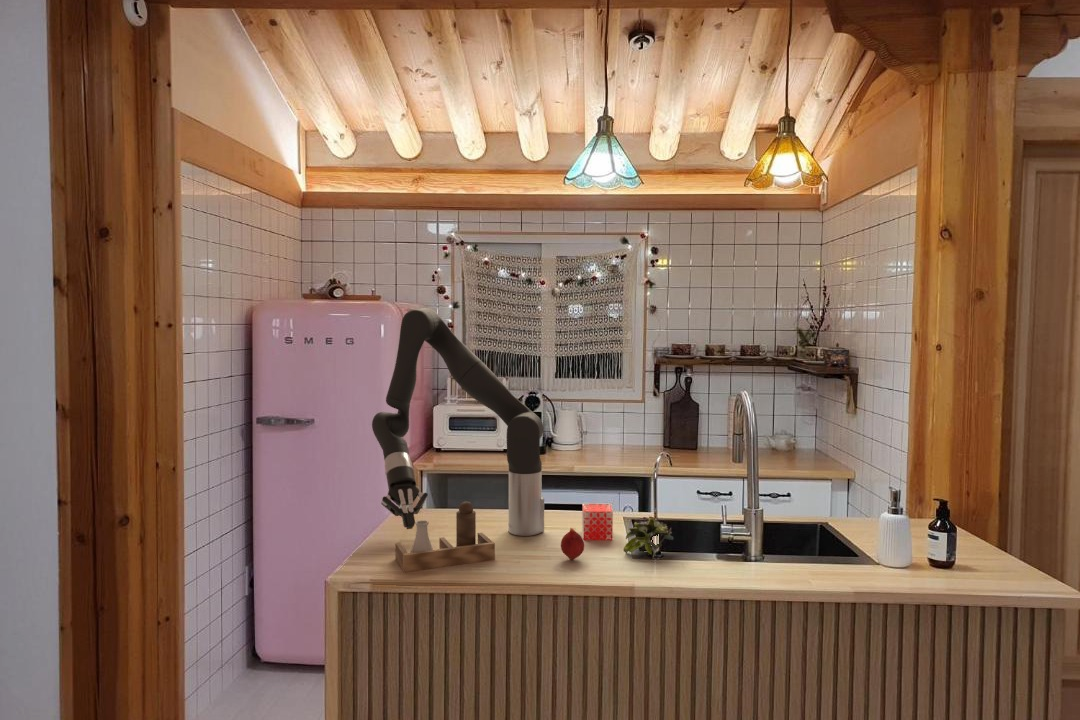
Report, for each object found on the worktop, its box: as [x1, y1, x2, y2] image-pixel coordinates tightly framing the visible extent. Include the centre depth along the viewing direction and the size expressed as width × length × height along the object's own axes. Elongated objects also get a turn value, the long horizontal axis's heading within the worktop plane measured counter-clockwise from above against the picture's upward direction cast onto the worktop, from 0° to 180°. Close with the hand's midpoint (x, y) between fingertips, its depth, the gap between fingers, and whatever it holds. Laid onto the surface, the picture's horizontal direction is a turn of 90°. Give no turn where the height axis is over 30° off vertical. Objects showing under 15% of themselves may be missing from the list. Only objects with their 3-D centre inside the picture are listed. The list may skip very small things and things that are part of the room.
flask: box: [409, 520, 434, 553], centre depth 170 cm, size 7×7×10 cm
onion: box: [560, 527, 585, 561], centre depth 172 cm, size 6×6×8 cm
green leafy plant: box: [623, 515, 674, 560], centre depth 177 cm, size 11×11×12 cm
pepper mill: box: [455, 500, 477, 547], centre depth 175 cm, size 5×5×14 cm
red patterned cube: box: [581, 503, 614, 541], centre depth 192 cm, size 8×8×8 cm
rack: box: [394, 532, 496, 573], centre depth 173 cm, size 23×10×4 cm, turn 114°
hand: (410, 527), depth 184 cm, fingers closed
